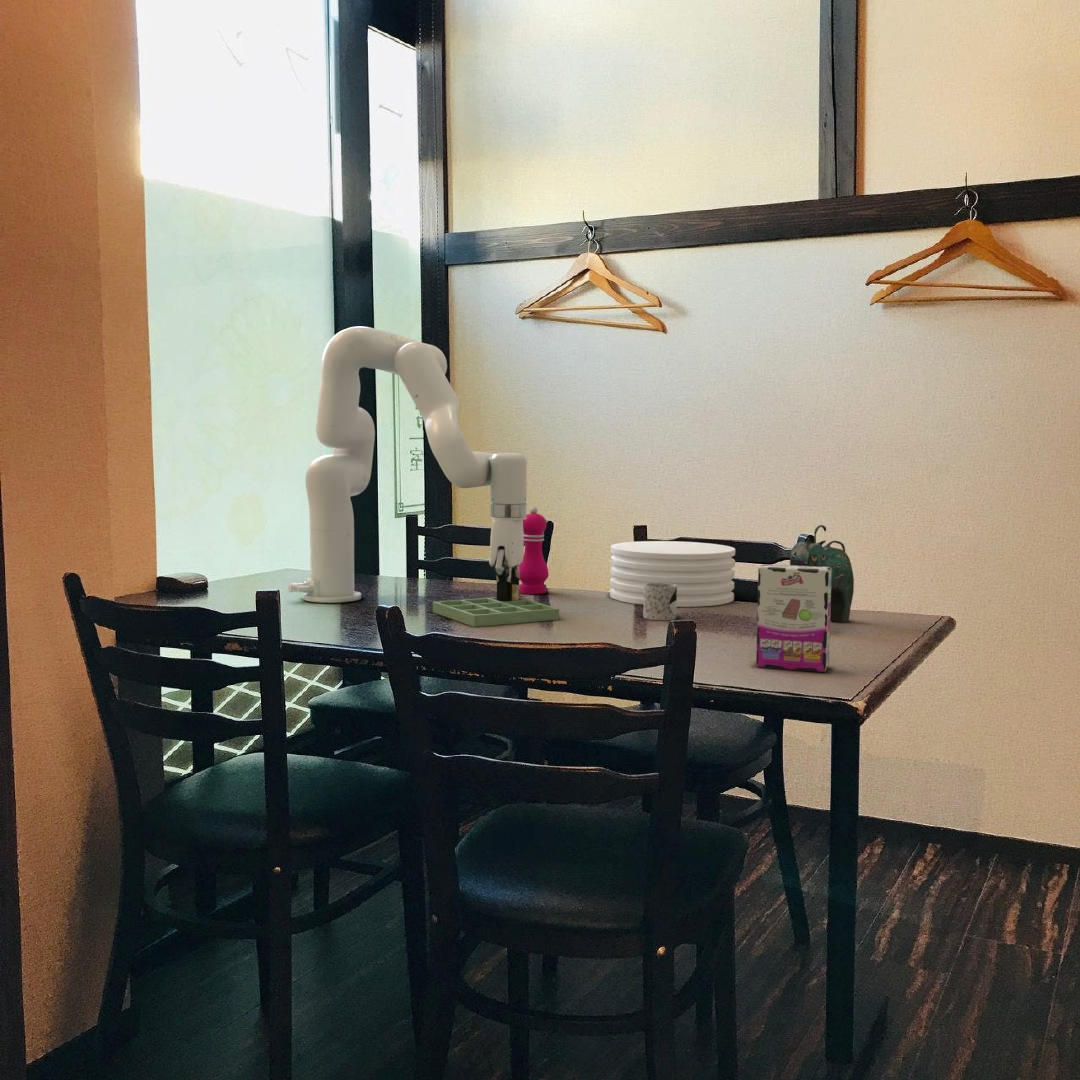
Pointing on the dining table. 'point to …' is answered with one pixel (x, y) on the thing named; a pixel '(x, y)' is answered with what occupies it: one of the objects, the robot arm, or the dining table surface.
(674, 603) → the mug
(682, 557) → the plate stack
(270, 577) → the dining table surface
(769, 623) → the candy bar box
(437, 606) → the grid
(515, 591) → the token
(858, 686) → the dining table surface
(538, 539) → the pepper mill
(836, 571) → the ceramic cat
